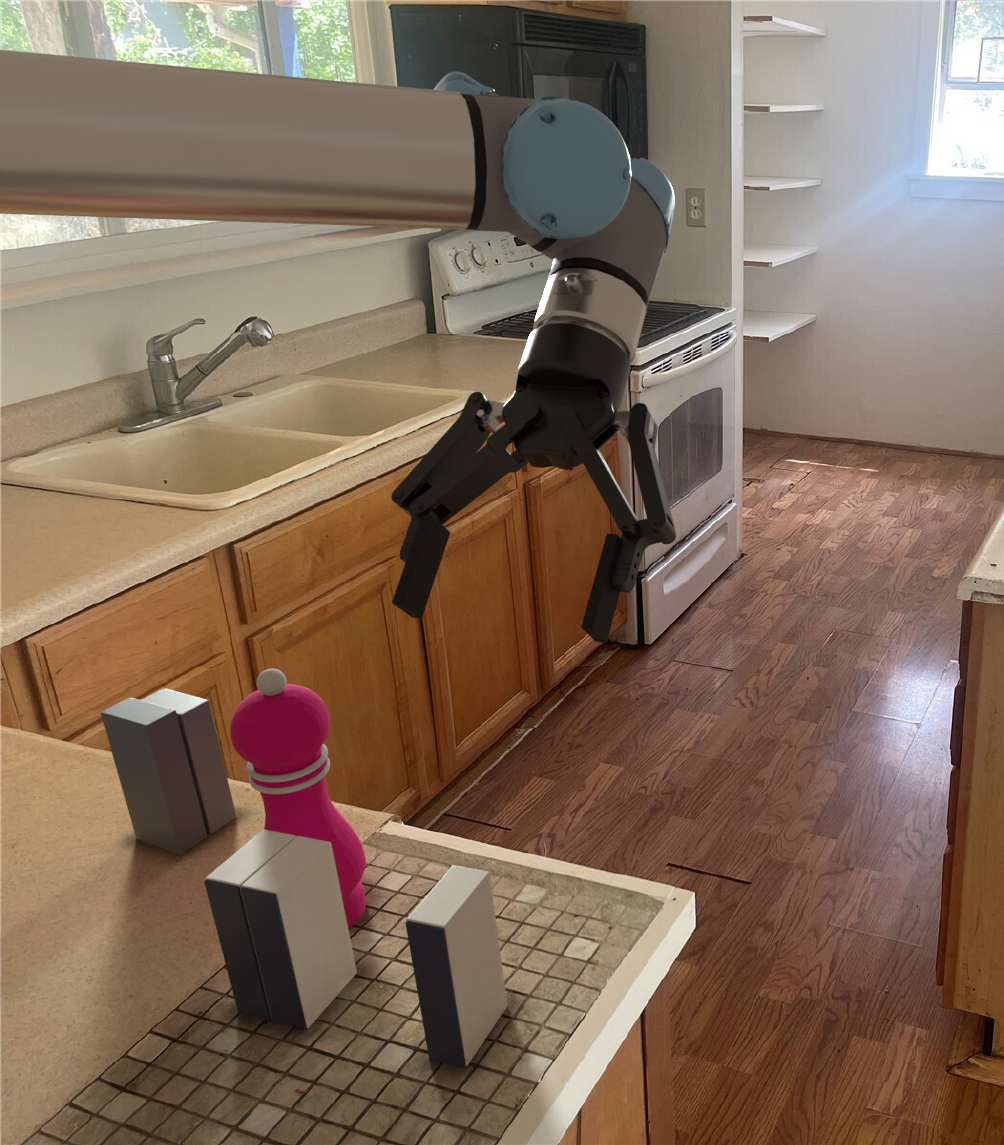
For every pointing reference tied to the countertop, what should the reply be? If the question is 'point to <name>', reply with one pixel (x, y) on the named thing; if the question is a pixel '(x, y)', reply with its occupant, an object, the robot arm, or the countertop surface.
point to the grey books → (170, 768)
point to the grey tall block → (282, 927)
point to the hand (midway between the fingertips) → (497, 623)
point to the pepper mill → (297, 774)
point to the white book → (457, 965)
